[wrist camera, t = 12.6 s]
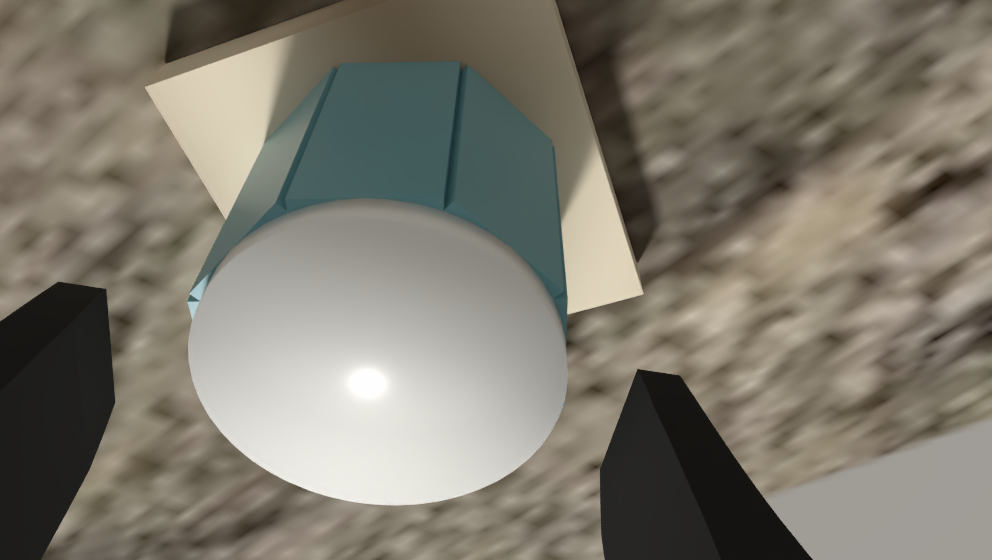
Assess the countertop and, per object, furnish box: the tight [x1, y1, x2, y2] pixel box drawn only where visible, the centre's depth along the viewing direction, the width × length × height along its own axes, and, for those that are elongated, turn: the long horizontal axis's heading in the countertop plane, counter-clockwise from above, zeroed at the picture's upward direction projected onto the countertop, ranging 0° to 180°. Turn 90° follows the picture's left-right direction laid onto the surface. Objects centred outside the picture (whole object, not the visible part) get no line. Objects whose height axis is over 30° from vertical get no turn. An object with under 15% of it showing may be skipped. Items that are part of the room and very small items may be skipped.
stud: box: [145, 0, 643, 314], centre depth 15 cm, size 7×7×4 cm
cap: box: [187, 61, 568, 505], centre depth 14 cm, size 5×5×5 cm
